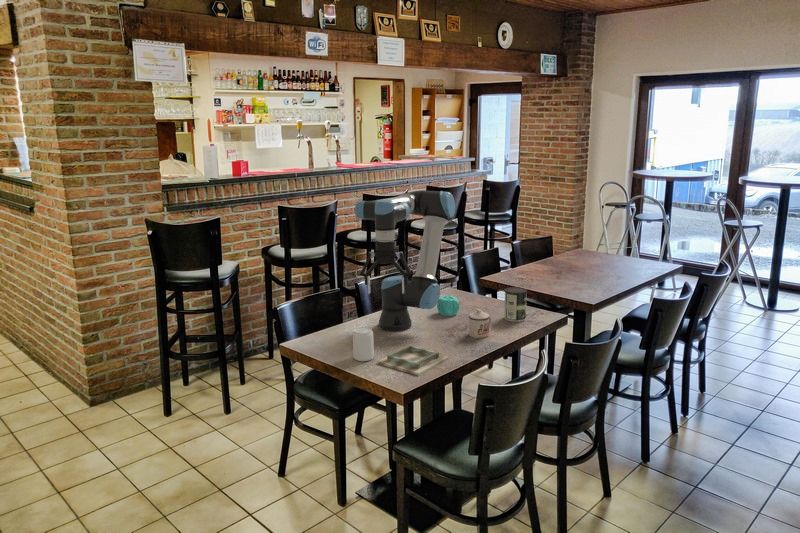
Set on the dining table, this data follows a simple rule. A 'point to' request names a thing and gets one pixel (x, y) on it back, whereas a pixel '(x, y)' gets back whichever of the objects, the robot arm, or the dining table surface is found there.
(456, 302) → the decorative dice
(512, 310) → the coffee can
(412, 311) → the dining table surface
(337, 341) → the dining table surface
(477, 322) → the teacup with lid
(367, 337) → the beverage can
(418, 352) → the board
